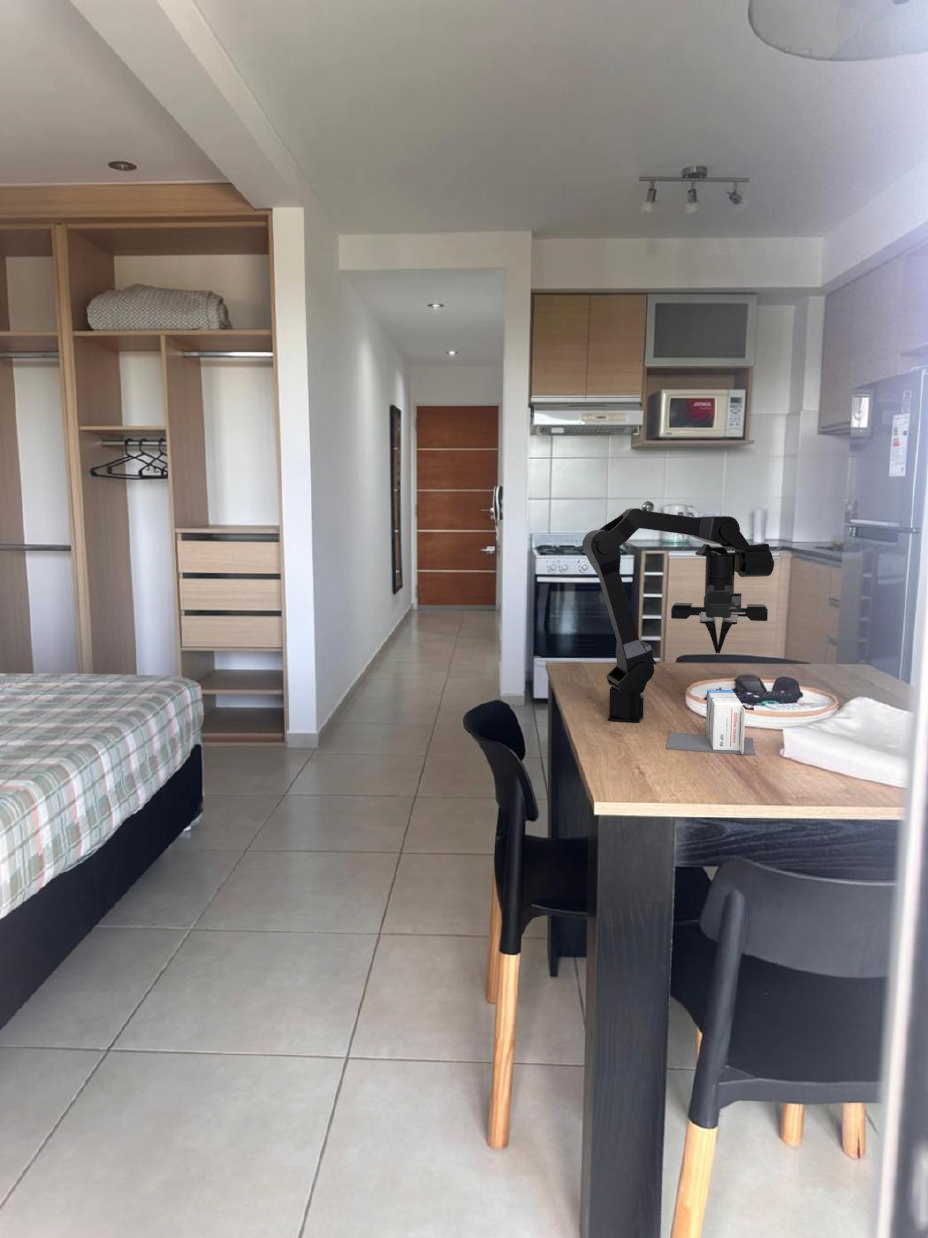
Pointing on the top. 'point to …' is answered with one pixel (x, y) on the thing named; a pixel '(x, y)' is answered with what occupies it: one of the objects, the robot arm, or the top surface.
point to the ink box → (725, 720)
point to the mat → (703, 744)
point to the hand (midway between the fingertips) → (717, 653)
